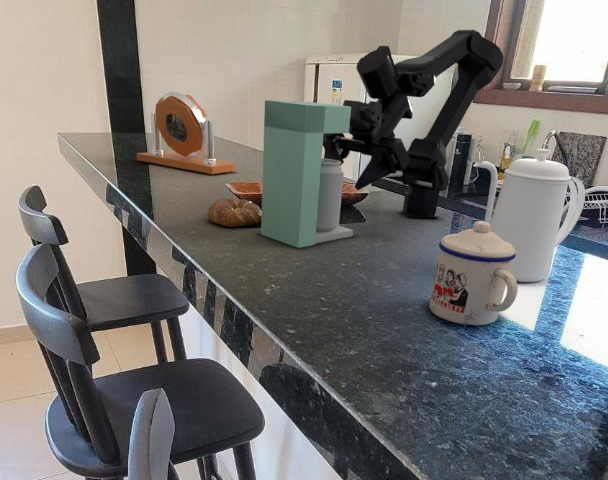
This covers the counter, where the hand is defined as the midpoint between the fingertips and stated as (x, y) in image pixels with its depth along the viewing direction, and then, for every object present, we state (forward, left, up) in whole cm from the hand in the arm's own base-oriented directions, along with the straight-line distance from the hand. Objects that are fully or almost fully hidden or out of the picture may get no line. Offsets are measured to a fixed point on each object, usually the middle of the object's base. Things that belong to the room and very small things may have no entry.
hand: (337, 183), depth 98 cm
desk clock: (+31, -72, -9) cm, 78 cm away
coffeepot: (-24, +23, -9) cm, 35 cm away
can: (+3, +2, -8) cm, 9 cm away
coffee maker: (+5, +4, -9) cm, 11 cm away
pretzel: (+19, -5, -9) cm, 21 cm away
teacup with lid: (-9, +42, -9) cm, 44 cm away
